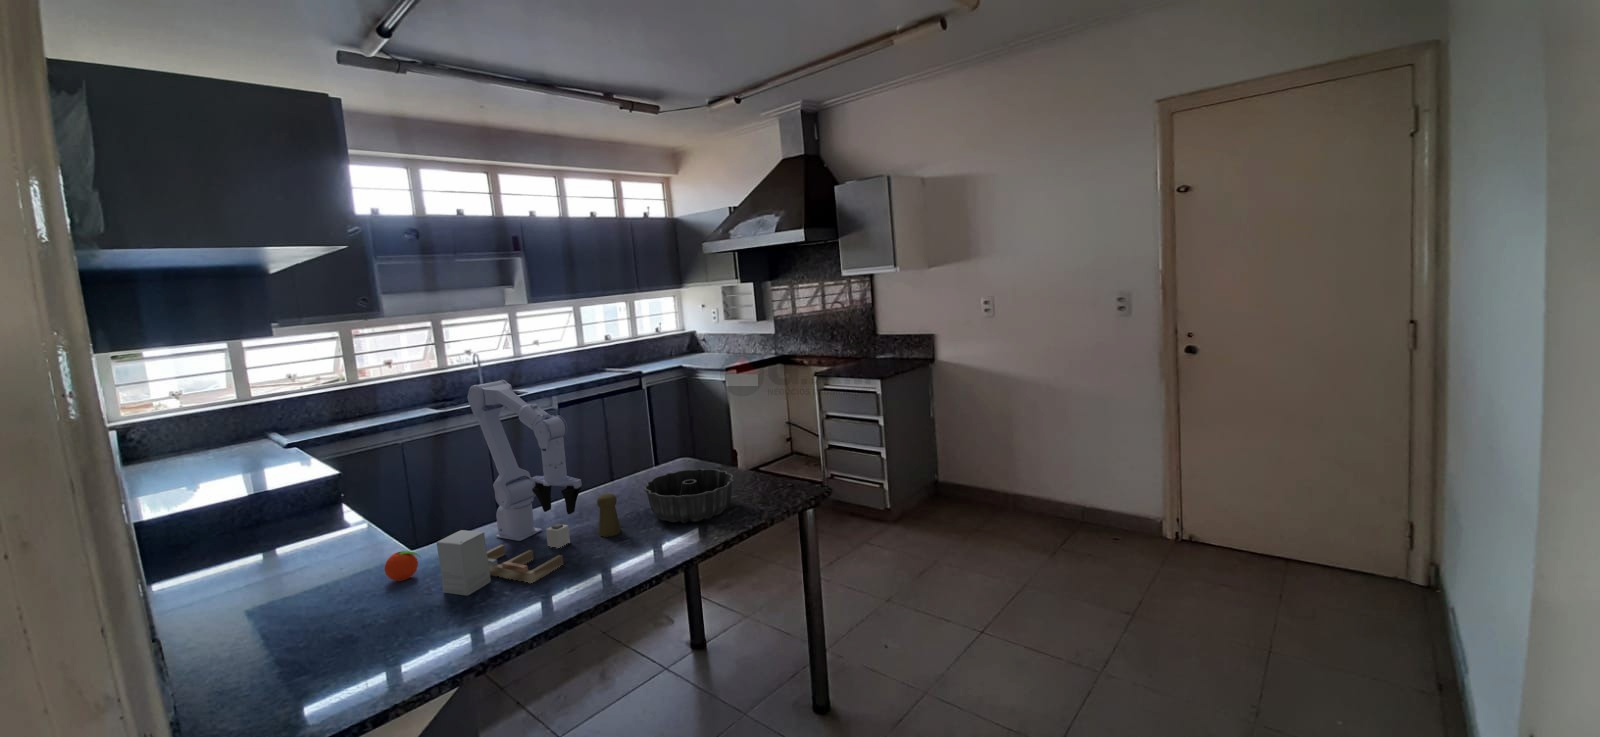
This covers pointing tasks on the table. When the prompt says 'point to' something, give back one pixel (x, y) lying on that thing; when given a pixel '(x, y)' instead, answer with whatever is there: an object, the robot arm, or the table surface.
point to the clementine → (401, 565)
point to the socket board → (520, 565)
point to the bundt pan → (690, 494)
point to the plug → (558, 535)
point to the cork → (608, 516)
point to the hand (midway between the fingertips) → (559, 511)
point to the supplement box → (463, 562)
